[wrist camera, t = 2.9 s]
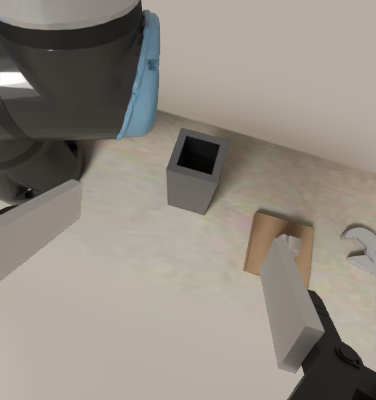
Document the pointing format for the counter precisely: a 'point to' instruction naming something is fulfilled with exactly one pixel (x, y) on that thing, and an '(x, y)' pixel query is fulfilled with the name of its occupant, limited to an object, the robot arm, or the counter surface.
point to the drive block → (285, 230)
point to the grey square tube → (194, 170)
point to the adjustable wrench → (372, 247)
